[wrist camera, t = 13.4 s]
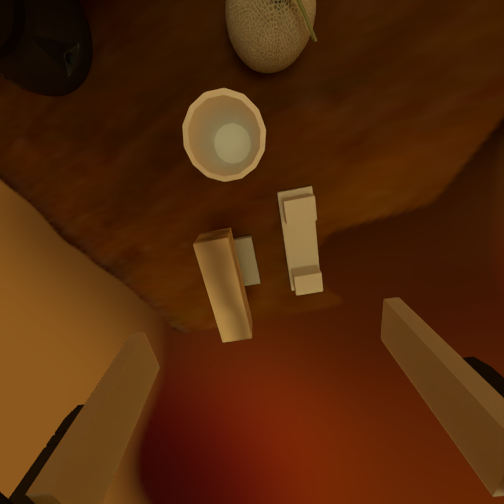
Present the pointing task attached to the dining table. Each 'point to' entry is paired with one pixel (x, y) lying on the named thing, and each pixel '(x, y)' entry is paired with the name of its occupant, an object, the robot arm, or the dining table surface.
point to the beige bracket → (300, 239)
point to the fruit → (269, 31)
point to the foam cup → (224, 134)
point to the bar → (224, 283)
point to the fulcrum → (247, 260)
